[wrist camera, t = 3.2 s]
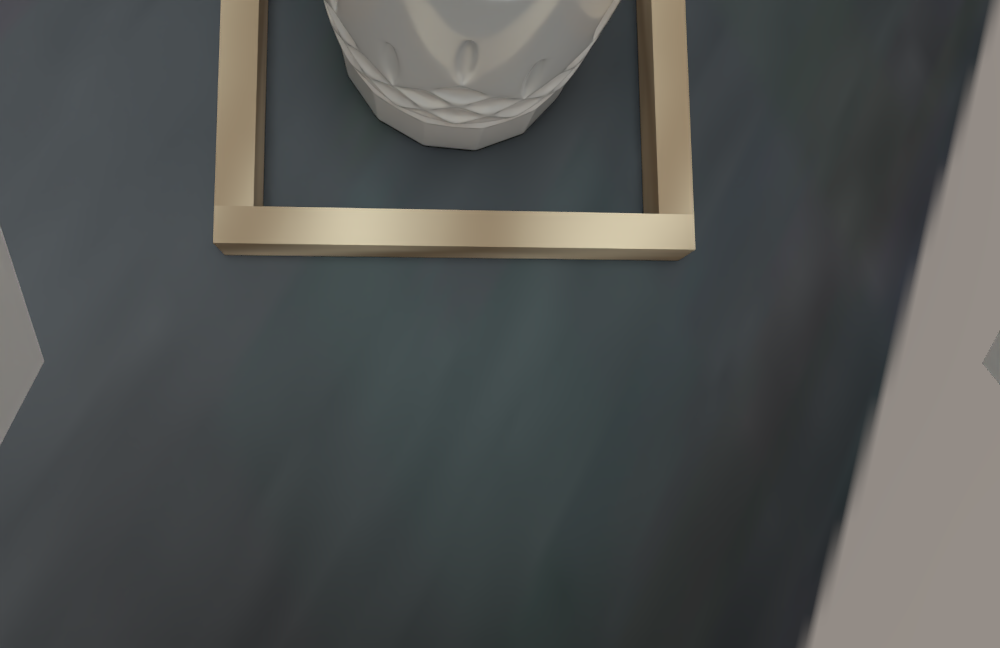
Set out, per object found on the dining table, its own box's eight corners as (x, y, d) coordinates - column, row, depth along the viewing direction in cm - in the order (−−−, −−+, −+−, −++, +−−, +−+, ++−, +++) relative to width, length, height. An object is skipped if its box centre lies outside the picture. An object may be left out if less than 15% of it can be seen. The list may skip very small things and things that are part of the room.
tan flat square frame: (224, 254, 24) (213, 242, 22) (238, -174, 25) (227, -212, 24) (678, 260, 25) (695, 249, 24) (662, -145, 27) (677, -179, 25)
